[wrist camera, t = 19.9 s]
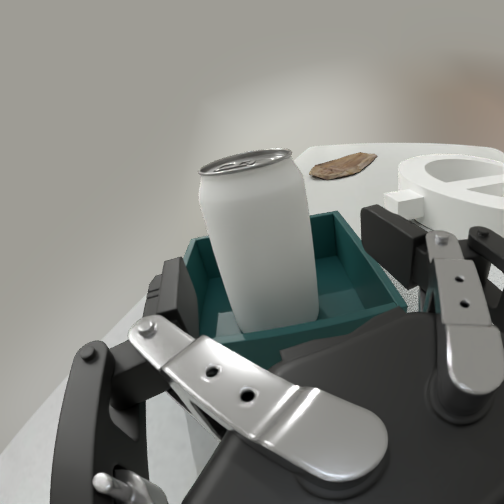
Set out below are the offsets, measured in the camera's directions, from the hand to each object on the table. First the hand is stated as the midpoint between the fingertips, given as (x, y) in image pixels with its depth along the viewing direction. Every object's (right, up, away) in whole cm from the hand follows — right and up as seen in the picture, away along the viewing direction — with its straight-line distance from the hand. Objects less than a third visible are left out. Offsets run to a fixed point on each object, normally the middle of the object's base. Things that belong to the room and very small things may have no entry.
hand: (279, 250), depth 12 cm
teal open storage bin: (+1, -5, +10) cm, 12 cm away
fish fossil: (+21, +20, +48) cm, 56 cm away
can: (+1, -5, +10) cm, 11 cm away
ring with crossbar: (+33, +7, +19) cm, 39 cm away
